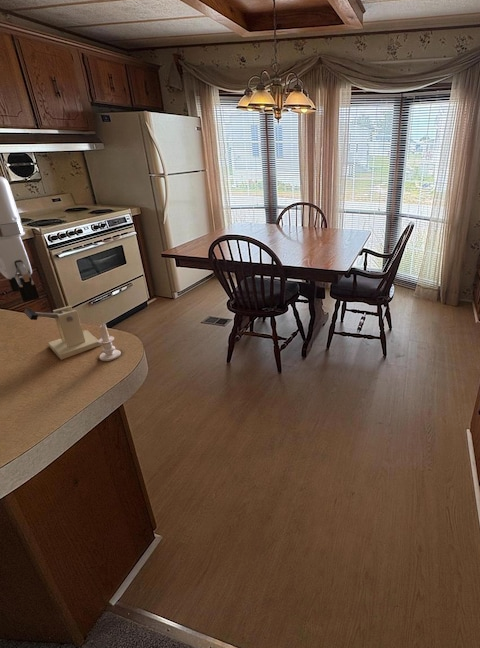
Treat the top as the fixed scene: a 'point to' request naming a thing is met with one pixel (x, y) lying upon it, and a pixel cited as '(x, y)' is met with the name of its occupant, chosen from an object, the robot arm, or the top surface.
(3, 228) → the robot arm
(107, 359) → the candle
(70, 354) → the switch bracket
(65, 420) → the top surface
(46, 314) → the switch lever
